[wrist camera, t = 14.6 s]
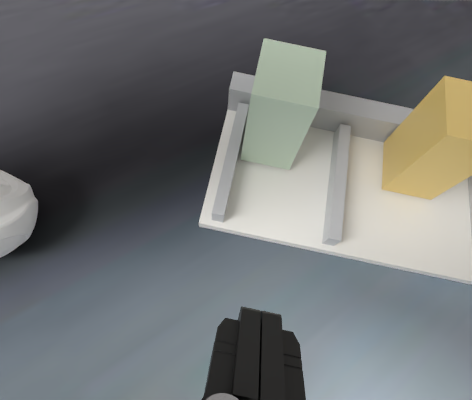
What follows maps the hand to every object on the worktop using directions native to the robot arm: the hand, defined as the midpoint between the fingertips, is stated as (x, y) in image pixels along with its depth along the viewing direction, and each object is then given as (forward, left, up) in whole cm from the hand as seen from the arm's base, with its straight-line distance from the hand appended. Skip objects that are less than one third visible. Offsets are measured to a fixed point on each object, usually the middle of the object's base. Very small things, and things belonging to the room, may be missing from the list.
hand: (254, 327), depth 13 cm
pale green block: (+12, +12, -13) cm, 21 cm away
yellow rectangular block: (+21, +3, -13) cm, 25 cm away
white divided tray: (+20, +1, -15) cm, 24 cm away
